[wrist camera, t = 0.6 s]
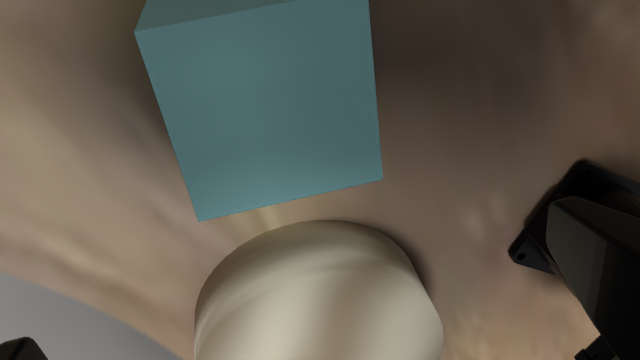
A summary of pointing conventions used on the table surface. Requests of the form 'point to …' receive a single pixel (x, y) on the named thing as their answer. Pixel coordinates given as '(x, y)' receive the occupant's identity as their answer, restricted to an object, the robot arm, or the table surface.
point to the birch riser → (316, 299)
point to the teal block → (264, 97)
